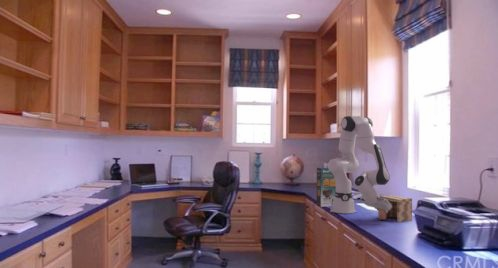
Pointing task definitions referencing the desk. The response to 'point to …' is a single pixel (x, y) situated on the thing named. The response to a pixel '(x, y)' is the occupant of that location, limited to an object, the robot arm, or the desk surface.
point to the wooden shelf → (399, 207)
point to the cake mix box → (325, 187)
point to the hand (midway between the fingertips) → (383, 211)
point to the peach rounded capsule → (382, 214)
